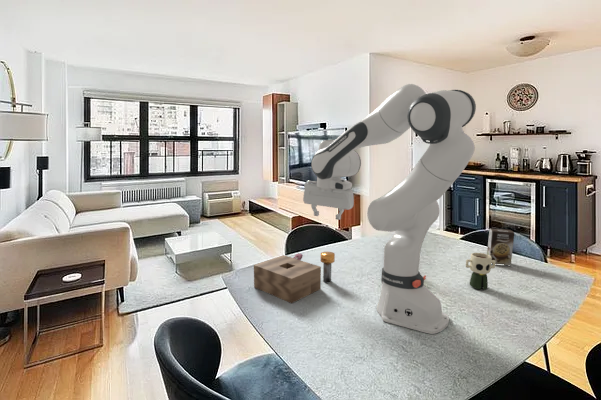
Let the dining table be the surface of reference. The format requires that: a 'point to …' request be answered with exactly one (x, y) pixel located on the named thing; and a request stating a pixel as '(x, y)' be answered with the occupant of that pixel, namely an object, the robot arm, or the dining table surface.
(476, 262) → the character mug
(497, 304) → the dining table surface
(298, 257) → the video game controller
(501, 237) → the coffee box
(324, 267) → the steel pin
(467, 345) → the dining table surface
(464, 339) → the dining table surface
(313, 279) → the walnut block
